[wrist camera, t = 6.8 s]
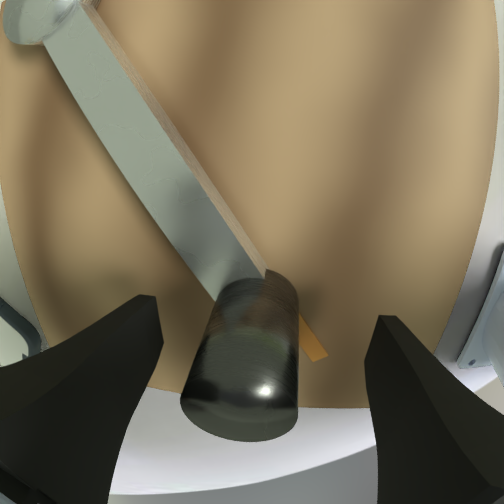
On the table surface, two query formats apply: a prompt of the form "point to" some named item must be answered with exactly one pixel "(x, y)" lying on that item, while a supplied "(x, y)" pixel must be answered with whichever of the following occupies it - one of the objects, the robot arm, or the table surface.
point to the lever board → (268, 169)
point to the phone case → (16, 336)
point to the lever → (182, 227)
